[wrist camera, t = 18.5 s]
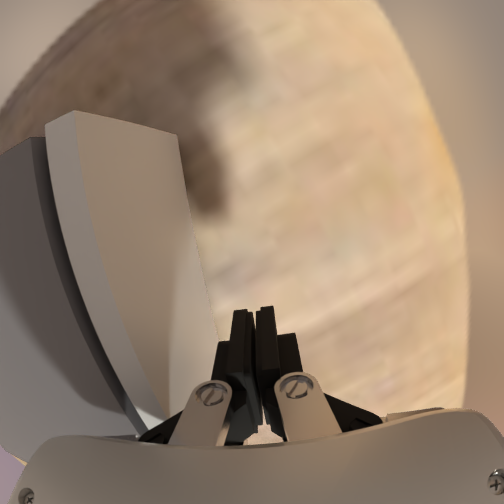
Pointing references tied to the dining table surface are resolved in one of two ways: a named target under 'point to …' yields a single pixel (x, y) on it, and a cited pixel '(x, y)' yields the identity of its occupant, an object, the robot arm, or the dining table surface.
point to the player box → (47, 323)
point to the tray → (134, 255)
